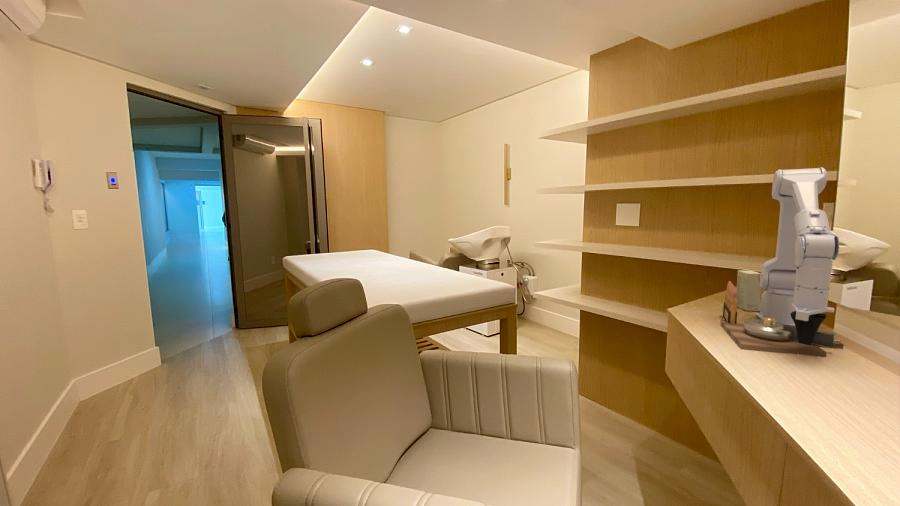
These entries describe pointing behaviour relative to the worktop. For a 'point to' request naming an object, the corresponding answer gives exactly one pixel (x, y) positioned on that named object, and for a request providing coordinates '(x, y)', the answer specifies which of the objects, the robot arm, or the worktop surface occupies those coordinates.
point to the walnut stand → (773, 342)
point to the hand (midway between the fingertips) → (805, 343)
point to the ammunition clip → (730, 304)
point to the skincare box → (748, 290)
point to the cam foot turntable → (783, 331)
